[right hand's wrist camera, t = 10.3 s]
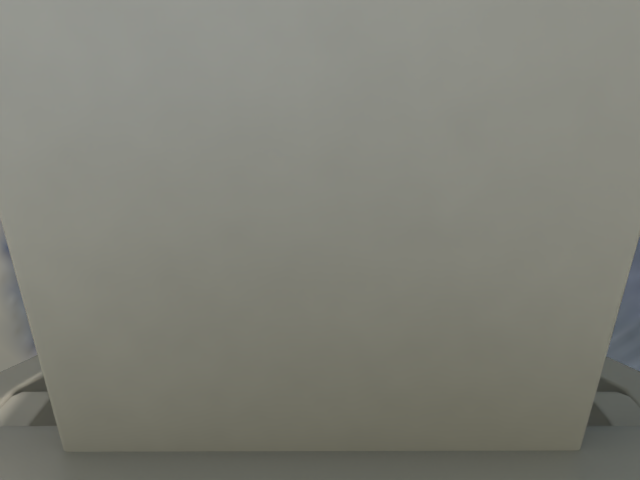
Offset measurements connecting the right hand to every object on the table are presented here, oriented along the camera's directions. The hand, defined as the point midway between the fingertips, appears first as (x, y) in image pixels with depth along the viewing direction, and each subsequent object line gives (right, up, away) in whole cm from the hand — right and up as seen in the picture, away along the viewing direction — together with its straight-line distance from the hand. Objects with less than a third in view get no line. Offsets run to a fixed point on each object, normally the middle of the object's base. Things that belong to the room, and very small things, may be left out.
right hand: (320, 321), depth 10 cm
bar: (0, +10, 0) cm, 10 cm away
